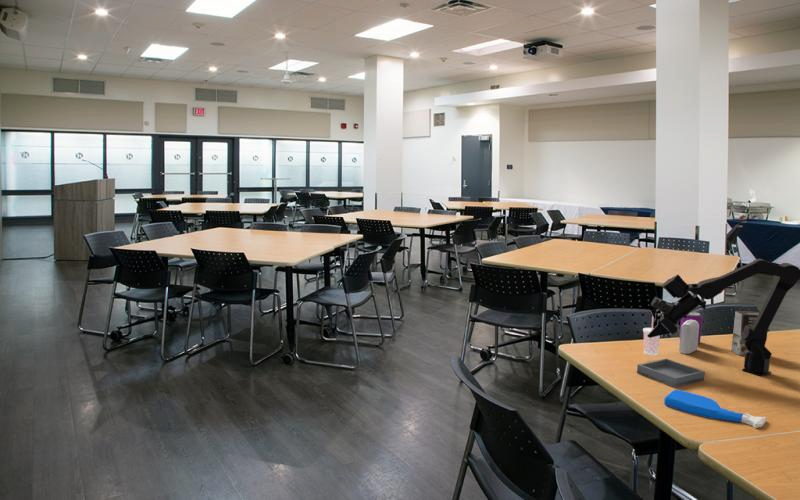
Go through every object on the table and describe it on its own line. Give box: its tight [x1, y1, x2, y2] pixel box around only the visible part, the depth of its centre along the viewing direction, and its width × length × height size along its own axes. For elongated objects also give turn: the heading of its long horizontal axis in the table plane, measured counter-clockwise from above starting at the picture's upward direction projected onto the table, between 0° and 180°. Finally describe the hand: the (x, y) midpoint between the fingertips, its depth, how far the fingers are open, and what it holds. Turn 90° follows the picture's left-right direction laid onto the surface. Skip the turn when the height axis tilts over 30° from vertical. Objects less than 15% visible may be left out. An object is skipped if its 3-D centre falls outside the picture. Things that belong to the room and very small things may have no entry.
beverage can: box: [679, 311, 703, 344], centre depth 227 cm, size 8×8×12 cm
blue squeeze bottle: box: [664, 389, 767, 429], centre depth 159 cm, size 3×11×24 cm
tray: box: [636, 358, 706, 388], centre depth 187 cm, size 15×15×3 cm
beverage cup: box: [642, 316, 661, 356], centre depth 203 cm, size 6×6×14 cm
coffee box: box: [730, 310, 760, 357], centre depth 212 cm, size 9×6×16 cm
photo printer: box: [678, 320, 699, 355], centre depth 215 cm, size 10×4×12 cm, turn 134°
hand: (647, 334), depth 203 cm, fingers closed on beverage cup, 6 cm apart
